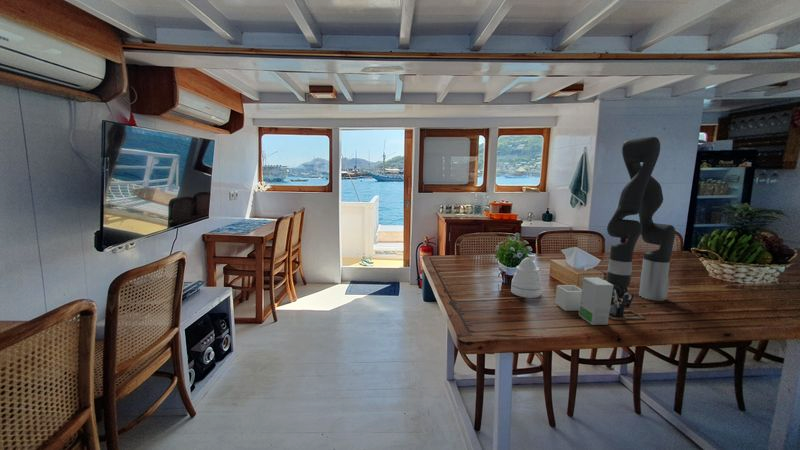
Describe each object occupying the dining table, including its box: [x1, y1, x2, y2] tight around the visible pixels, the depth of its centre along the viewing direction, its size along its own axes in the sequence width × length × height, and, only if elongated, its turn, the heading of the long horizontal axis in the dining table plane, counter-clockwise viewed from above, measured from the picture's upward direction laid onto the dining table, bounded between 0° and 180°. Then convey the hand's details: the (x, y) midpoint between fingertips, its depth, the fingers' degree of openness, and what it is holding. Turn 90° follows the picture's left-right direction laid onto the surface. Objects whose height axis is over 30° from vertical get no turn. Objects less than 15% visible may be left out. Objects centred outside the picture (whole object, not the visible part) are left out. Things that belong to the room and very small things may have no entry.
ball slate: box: [609, 303, 617, 317], centre depth 126 cm, size 4×4×4 cm
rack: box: [609, 309, 646, 321], centre depth 126 cm, size 13×7×1 cm, turn 93°
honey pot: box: [510, 254, 542, 299], centre depth 149 cm, size 13×13×18 cm
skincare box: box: [578, 276, 614, 326], centre depth 121 cm, size 8×7×16 cm
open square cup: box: [554, 284, 582, 312], centre depth 134 cm, size 8×8×8 cm
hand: (614, 313), depth 126 cm, fingers closed on ball slate, 4 cm apart
